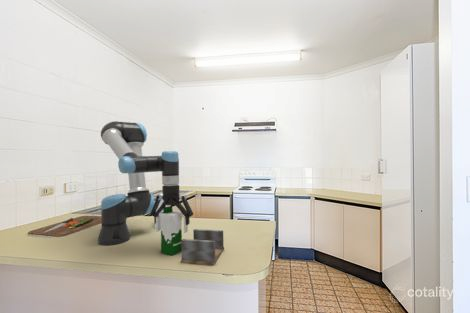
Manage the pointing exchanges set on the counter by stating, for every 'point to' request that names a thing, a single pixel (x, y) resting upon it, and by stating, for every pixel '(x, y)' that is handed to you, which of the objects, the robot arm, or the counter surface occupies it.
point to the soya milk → (171, 231)
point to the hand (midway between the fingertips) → (172, 231)
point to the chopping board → (66, 227)
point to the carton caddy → (203, 247)
